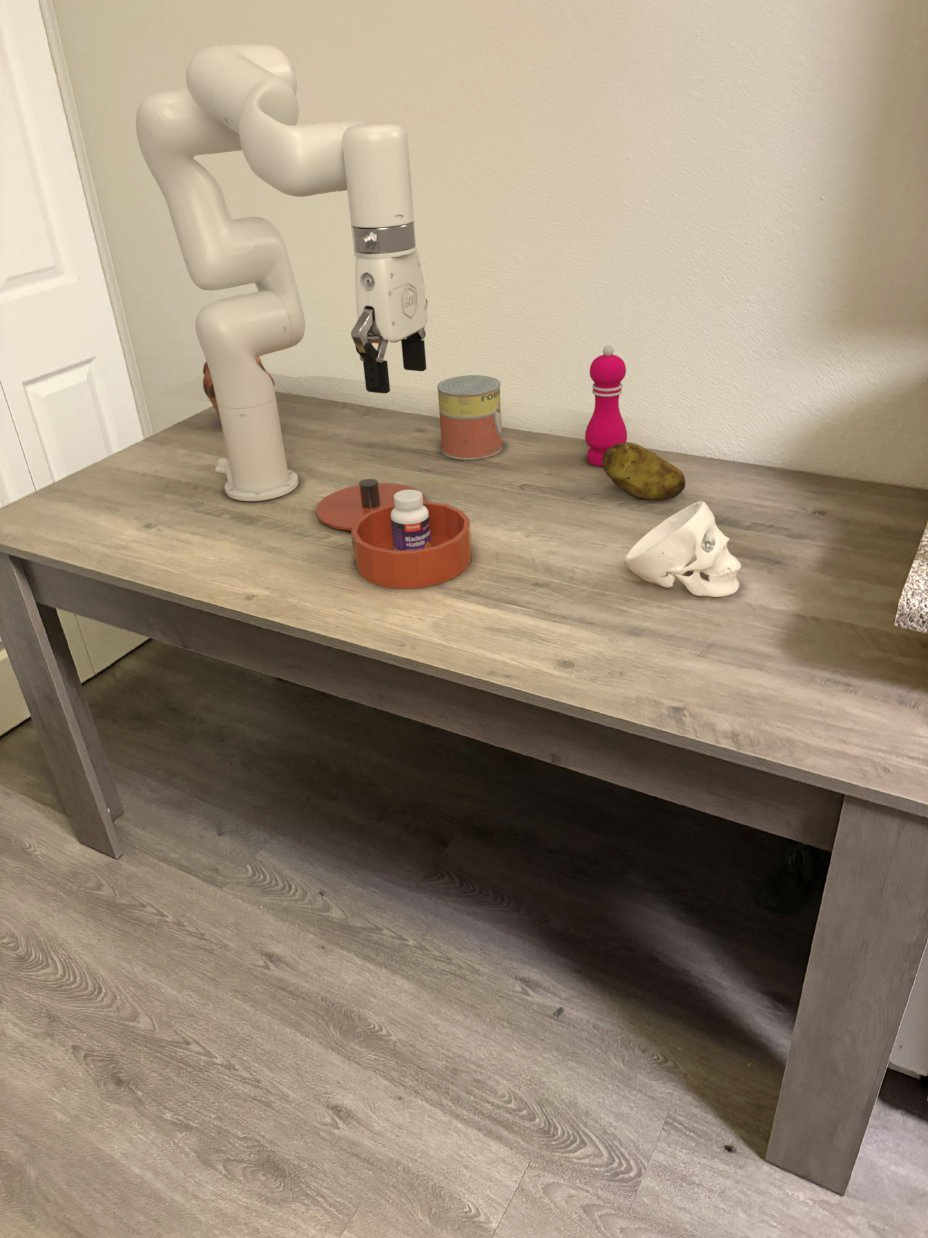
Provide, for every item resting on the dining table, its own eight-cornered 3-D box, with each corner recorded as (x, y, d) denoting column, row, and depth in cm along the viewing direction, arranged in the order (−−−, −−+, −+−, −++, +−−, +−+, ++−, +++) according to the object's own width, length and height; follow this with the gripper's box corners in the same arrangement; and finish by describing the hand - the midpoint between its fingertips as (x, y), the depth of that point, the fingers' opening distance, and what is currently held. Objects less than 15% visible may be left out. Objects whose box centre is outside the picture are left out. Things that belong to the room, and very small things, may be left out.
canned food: (503, 458, 165) (500, 392, 158) (440, 461, 165) (435, 395, 159) (501, 436, 174) (499, 373, 168) (442, 439, 175) (438, 376, 168)
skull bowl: (745, 602, 115) (698, 519, 112) (650, 634, 124) (605, 558, 121) (762, 564, 123) (719, 486, 120) (672, 597, 131) (630, 524, 129)
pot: (334, 576, 130) (329, 541, 127) (392, 528, 142) (388, 495, 139) (439, 597, 123) (436, 560, 120) (489, 544, 136) (488, 510, 133)
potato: (660, 512, 142) (663, 464, 138) (593, 492, 150) (594, 446, 146) (690, 495, 147) (693, 447, 143) (623, 476, 155) (625, 431, 150)
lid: (295, 525, 145) (290, 496, 143) (353, 483, 159) (350, 456, 156) (392, 541, 138) (389, 512, 136) (444, 496, 152) (442, 468, 149)
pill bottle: (409, 569, 129) (403, 506, 124) (387, 557, 133) (380, 495, 128) (439, 557, 132) (435, 494, 127) (417, 545, 136) (412, 483, 131)
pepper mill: (629, 454, 163) (634, 340, 153) (621, 469, 157) (626, 352, 147) (589, 451, 165) (591, 338, 155) (580, 466, 159) (581, 350, 149)
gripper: (374, 254, 102) (389, 404, 111) (444, 228, 115) (452, 364, 124) (318, 252, 105) (337, 398, 114) (392, 227, 118) (404, 360, 127)
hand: (397, 380), depth 119 cm, fingers open, 9 cm apart
